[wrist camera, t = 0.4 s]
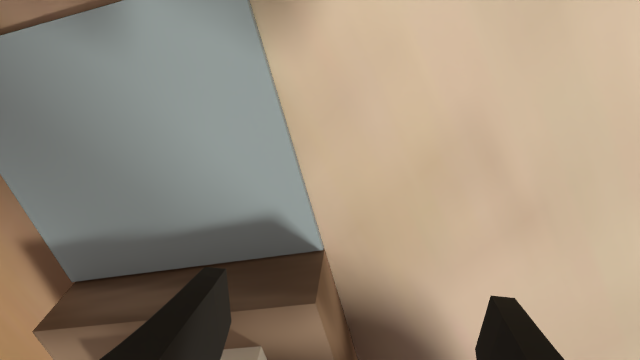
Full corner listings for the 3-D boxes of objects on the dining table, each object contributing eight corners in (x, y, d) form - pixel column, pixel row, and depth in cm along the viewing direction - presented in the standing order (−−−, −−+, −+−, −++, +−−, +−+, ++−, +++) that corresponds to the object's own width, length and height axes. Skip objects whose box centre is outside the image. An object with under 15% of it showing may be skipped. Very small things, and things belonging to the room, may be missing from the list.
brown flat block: (364, 381, 29) (362, 442, 25) (150, 394, 32) (122, 449, 29) (324, 249, 24) (315, 303, 20) (76, 281, 27) (32, 331, 24)
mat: (323, 246, 24) (322, 250, 23) (74, 278, 27) (71, 282, 27) (239, -33, 17) (237, -32, 17) (-72, 55, 21) (-77, 57, 21)
